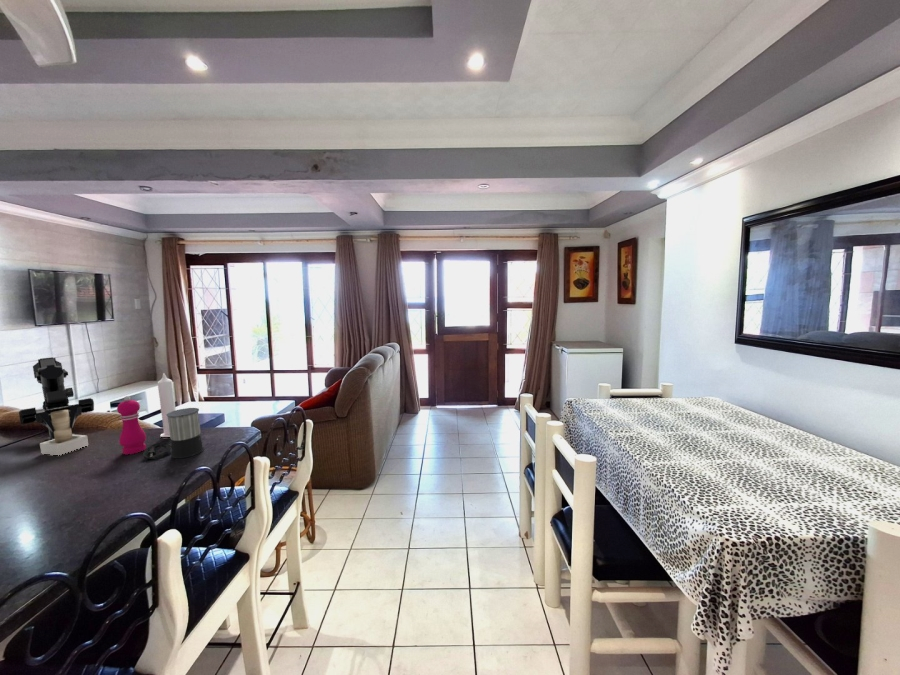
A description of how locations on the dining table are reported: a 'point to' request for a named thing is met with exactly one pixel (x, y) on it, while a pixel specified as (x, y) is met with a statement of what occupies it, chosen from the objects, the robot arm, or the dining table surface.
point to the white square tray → (64, 445)
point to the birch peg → (61, 426)
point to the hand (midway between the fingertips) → (62, 429)
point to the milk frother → (180, 435)
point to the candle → (166, 402)
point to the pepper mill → (131, 427)
